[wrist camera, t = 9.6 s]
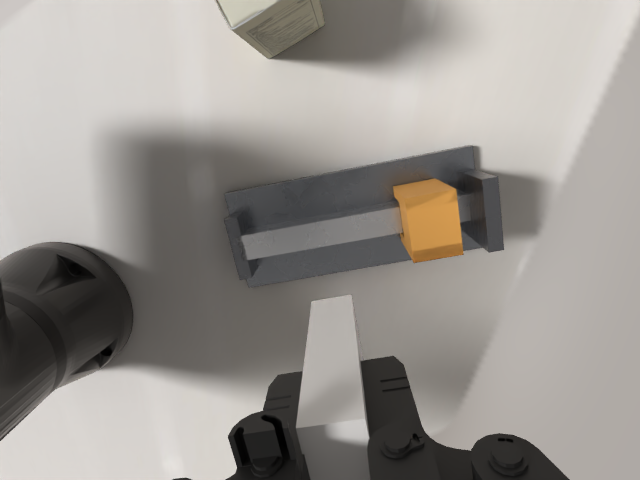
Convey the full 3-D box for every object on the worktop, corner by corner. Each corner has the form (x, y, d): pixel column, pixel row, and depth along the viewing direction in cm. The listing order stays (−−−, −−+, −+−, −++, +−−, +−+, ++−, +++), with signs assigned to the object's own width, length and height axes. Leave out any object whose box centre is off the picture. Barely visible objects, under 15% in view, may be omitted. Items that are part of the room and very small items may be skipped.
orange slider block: (400, 240, 39) (413, 262, 33) (392, 186, 38) (404, 198, 31) (441, 233, 39) (463, 254, 32) (435, 178, 38) (456, 189, 31)
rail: (250, 284, 43) (231, 318, 35) (227, 192, 40) (200, 207, 33) (479, 244, 41) (512, 271, 33) (469, 145, 38) (502, 149, 30)
